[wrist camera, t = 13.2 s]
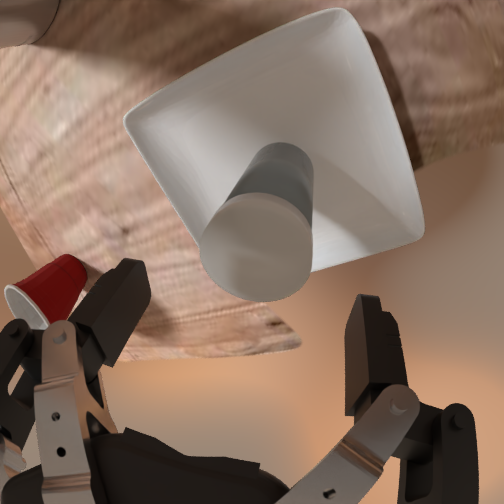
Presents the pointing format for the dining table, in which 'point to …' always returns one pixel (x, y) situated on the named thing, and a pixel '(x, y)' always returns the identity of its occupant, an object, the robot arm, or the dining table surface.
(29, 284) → the plastic cup
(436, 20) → the dining table surface
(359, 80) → the salad plate
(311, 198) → the shaker
